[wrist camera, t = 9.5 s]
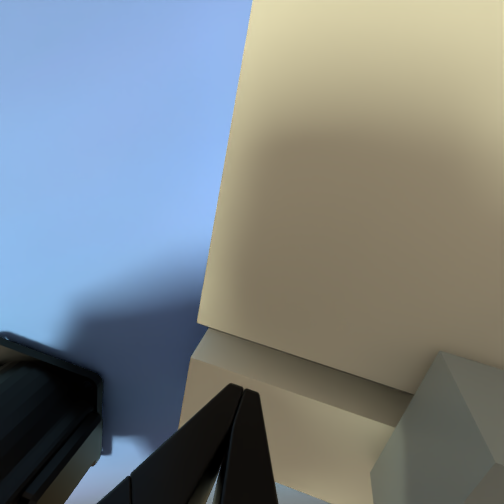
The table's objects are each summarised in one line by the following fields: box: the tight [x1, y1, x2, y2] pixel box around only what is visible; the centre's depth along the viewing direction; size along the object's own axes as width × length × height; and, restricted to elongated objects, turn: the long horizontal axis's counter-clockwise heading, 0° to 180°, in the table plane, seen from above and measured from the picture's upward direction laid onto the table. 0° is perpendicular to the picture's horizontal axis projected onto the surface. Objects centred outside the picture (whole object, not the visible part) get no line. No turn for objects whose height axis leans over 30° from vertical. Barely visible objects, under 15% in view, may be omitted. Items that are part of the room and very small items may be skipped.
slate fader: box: [370, 351, 504, 504], centre depth 8 cm, size 4×5×5 cm
